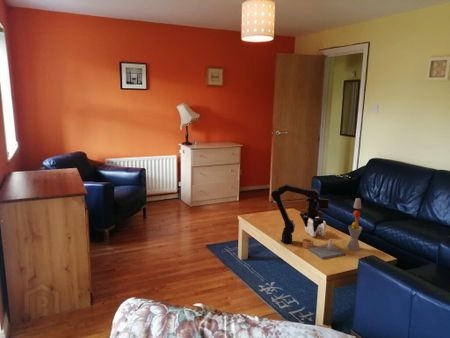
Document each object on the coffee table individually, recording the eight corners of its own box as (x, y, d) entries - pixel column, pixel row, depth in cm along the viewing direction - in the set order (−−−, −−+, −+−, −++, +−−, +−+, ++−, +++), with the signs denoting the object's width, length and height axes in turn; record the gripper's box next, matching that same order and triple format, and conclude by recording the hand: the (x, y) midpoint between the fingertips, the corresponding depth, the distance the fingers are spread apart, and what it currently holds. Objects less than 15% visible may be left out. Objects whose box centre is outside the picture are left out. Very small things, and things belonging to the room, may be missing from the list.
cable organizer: (325, 237, 257) (327, 222, 255) (312, 238, 255) (313, 223, 253) (316, 230, 272) (317, 215, 269) (303, 231, 269) (304, 216, 267)
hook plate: (322, 259, 222) (323, 245, 220) (309, 250, 235) (309, 237, 233) (344, 255, 229) (346, 241, 227) (331, 246, 241) (332, 234, 239)
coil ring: (306, 248, 237) (306, 243, 236) (300, 244, 243) (300, 239, 242) (314, 247, 239) (315, 242, 239) (308, 243, 246) (309, 238, 245)
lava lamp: (349, 244, 246) (353, 196, 239) (362, 247, 240) (367, 198, 233) (344, 248, 239) (348, 198, 232) (357, 252, 233) (362, 201, 227)
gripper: (331, 210, 234) (328, 232, 237) (313, 202, 250) (311, 223, 253) (317, 212, 229) (315, 234, 232) (300, 204, 246) (298, 225, 249)
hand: (310, 229), depth 242 cm, fingers open, 9 cm apart
